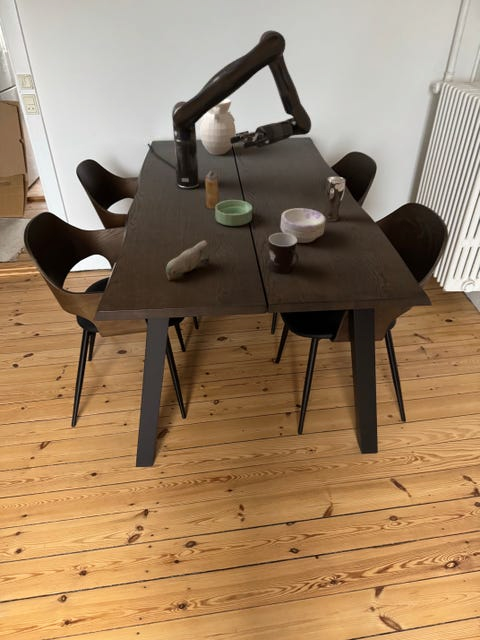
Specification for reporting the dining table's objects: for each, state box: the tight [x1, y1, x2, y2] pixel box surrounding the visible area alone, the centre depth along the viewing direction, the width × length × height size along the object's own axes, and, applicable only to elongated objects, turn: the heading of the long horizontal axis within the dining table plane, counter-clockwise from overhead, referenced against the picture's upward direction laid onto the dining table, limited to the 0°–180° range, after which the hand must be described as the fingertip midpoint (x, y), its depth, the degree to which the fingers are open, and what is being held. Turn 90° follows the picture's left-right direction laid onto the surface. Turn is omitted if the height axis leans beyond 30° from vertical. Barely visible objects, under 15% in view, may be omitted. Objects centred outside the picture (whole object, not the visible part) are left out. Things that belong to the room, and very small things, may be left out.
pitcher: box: [199, 98, 237, 156], centre depth 220 cm, size 19×18×25 cm
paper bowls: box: [280, 207, 327, 244], centre depth 149 cm, size 15×15×8 cm
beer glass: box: [322, 175, 346, 223], centre depth 160 cm, size 7×7×15 cm
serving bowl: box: [214, 199, 253, 227], centre depth 161 cm, size 14×14×5 cm
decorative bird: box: [165, 240, 210, 281], centre depth 131 cm, size 5×16×8 cm, turn 137°
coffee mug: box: [268, 232, 299, 274], centre depth 131 cm, size 12×9×10 cm
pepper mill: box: [204, 170, 219, 210], centre depth 168 cm, size 5×5×14 cm
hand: (237, 143), depth 165 cm, fingers open, 8 cm apart
